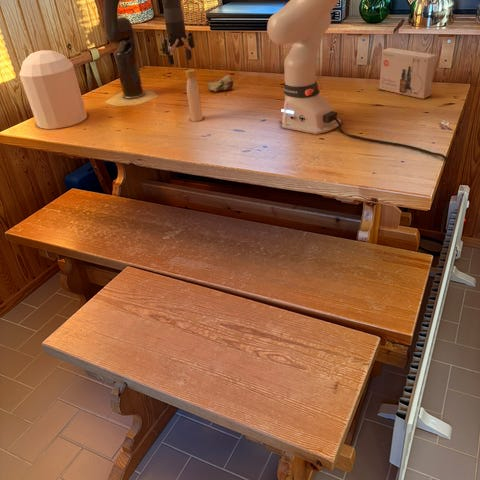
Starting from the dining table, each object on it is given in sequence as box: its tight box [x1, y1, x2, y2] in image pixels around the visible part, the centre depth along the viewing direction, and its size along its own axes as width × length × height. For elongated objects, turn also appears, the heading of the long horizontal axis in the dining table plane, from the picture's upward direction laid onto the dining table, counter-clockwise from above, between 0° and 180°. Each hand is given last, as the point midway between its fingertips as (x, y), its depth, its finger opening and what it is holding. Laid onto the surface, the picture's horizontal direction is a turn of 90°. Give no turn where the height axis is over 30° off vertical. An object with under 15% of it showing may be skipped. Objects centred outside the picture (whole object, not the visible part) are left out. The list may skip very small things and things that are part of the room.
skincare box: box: [378, 47, 437, 100], centre depth 184 cm, size 21×6×16 cm, turn 40°
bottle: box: [185, 77, 204, 122], centre depth 179 cm, size 5×5×18 cm
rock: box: [207, 74, 234, 93], centre depth 212 cm, size 11×6×10 cm
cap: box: [184, 68, 197, 79], centre depth 174 cm, size 4×4×2 cm
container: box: [19, 49, 88, 130], centre depth 189 cm, size 21×21×28 cm
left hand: (180, 62), depth 192 cm, fingers open, 8 cm apart
